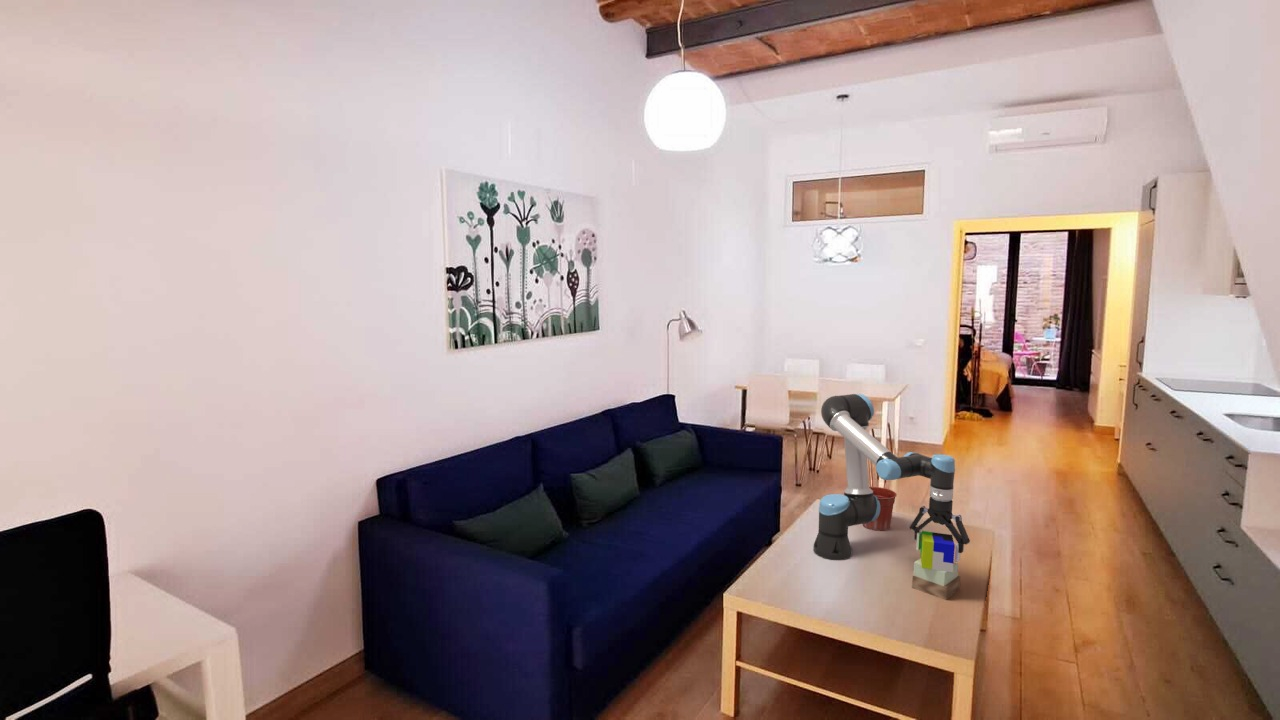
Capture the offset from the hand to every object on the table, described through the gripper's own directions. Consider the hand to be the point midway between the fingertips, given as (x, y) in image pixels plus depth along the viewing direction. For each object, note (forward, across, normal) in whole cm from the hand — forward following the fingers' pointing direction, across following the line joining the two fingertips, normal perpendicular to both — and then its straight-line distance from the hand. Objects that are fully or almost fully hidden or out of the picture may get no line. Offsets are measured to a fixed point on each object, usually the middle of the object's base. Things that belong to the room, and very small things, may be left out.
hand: (937, 554), depth 229 cm
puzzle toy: (+3, 0, -2) cm, 4 cm away
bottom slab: (+13, 0, 0) cm, 13 cm away
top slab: (+8, 0, 0) cm, 8 cm away
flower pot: (+13, -43, +42) cm, 61 cm away
